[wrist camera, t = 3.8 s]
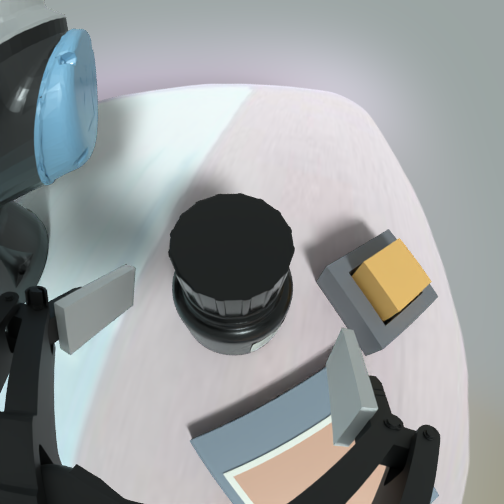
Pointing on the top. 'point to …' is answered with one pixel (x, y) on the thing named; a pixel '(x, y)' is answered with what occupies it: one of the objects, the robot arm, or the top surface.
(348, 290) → the button housing
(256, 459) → the picture board
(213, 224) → the ink bottle
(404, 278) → the button
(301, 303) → the top surface
